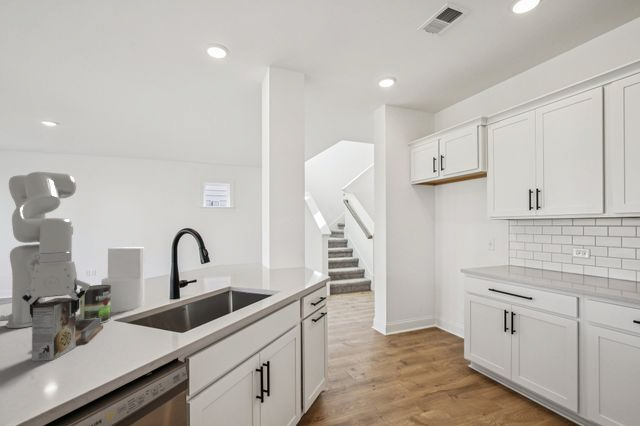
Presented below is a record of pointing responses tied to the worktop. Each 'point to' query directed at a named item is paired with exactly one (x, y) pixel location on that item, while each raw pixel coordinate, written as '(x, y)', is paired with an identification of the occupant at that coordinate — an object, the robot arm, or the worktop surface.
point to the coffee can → (96, 303)
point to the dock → (87, 329)
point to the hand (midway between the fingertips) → (55, 314)
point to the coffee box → (53, 329)
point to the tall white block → (126, 277)
